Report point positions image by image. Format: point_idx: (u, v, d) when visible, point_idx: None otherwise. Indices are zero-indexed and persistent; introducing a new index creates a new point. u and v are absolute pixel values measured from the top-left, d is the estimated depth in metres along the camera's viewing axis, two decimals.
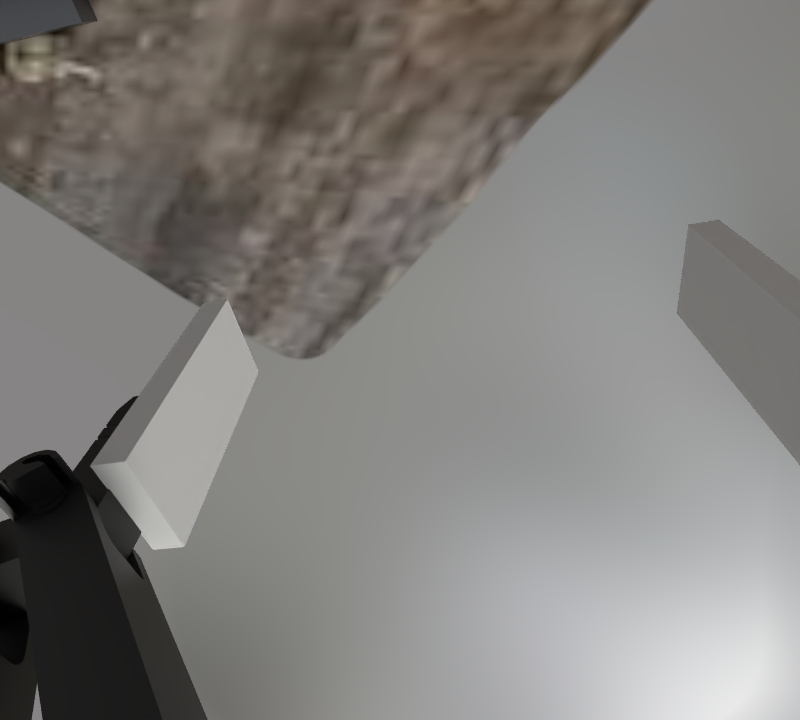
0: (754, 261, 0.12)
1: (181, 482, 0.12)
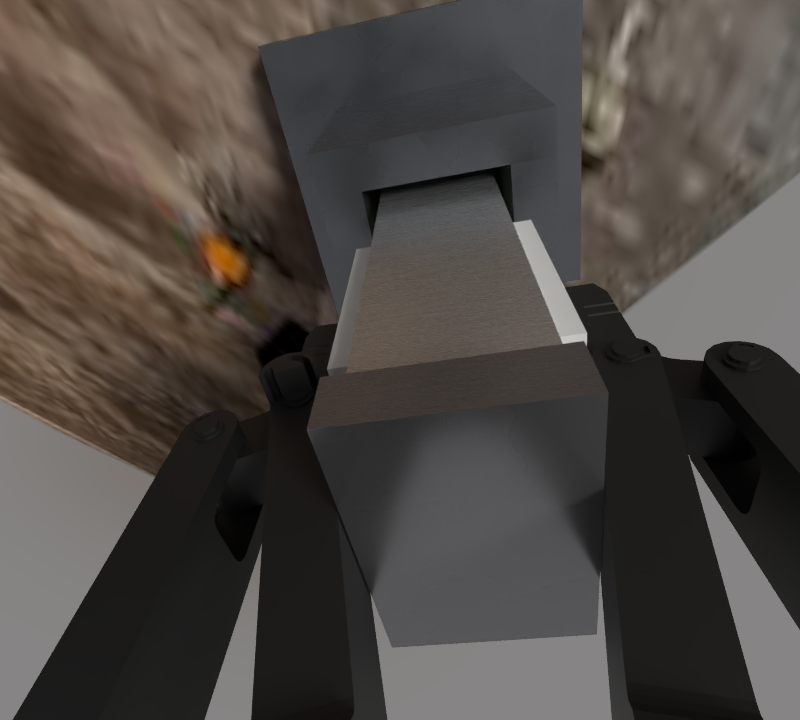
0: (534, 254, 0.14)
1: None
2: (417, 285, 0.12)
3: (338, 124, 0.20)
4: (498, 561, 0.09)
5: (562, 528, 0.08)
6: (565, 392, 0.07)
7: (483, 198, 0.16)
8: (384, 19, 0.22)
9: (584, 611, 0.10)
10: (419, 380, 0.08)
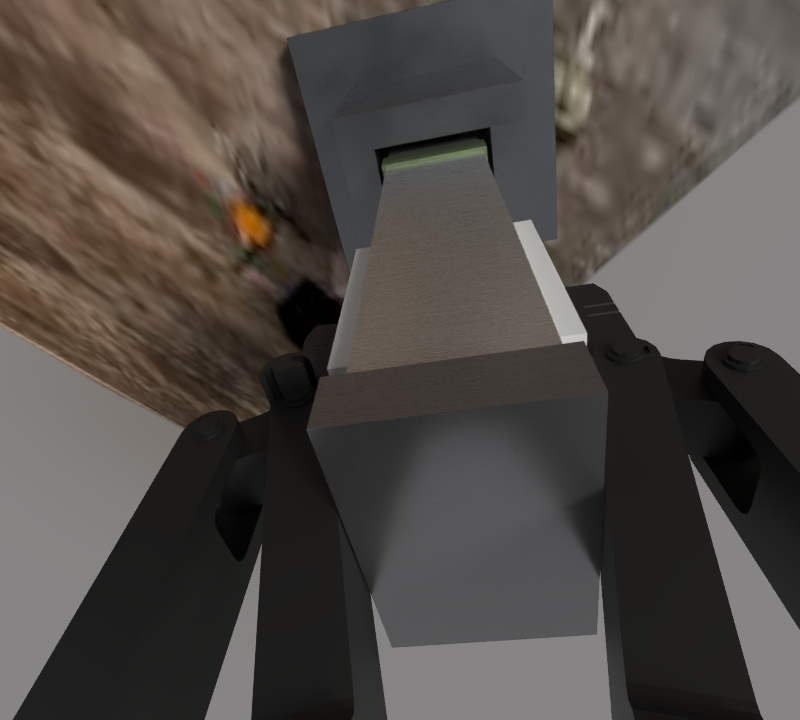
0: (533, 254, 0.14)
1: None
2: (417, 285, 0.12)
3: (354, 99, 0.25)
4: (498, 561, 0.09)
5: (562, 527, 0.08)
6: (565, 392, 0.07)
7: (483, 198, 0.16)
8: (390, 15, 0.27)
9: (584, 611, 0.10)
10: (419, 380, 0.08)
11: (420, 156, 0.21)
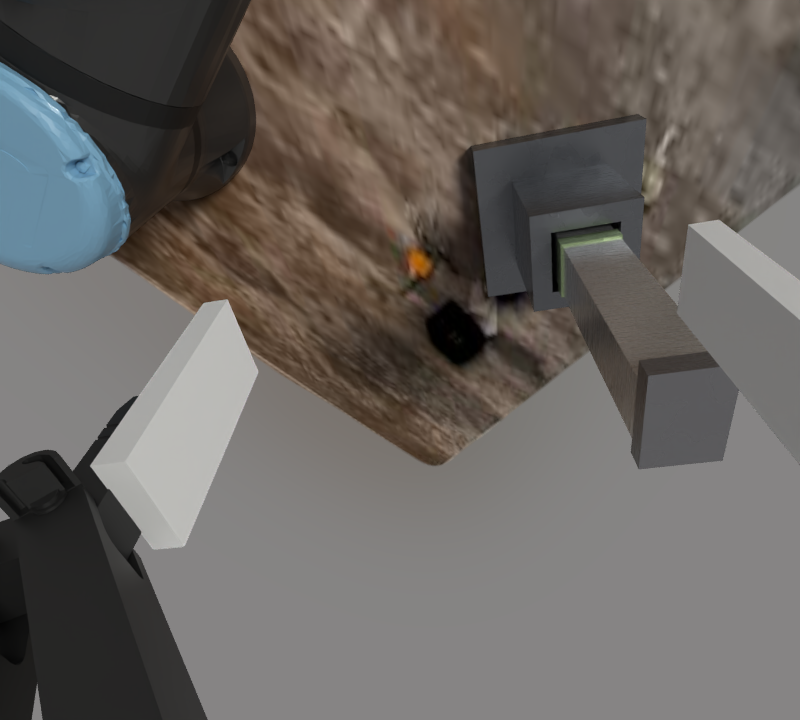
0: (754, 261, 0.12)
1: (181, 482, 0.12)
2: (634, 322, 0.28)
3: (526, 196, 0.41)
4: (694, 426, 0.25)
5: (720, 411, 0.24)
6: None
7: (640, 274, 0.32)
8: (542, 139, 0.43)
9: (720, 448, 0.25)
10: (678, 361, 0.23)
11: (582, 239, 0.37)
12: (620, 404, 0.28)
